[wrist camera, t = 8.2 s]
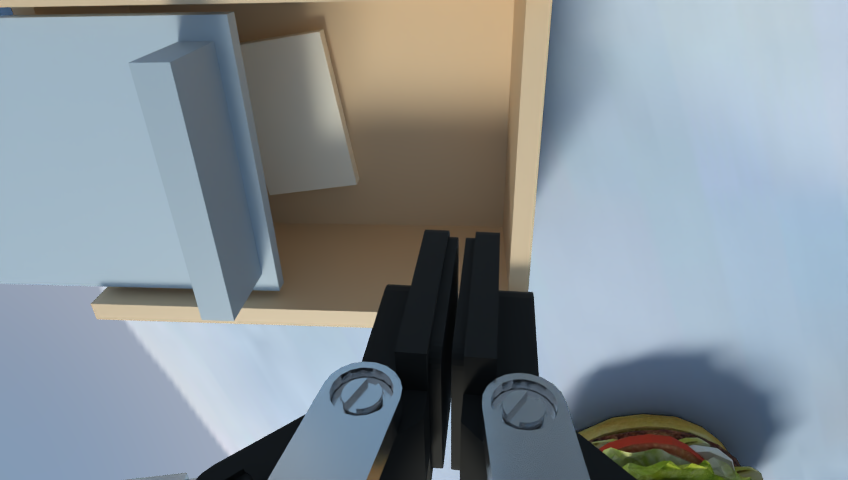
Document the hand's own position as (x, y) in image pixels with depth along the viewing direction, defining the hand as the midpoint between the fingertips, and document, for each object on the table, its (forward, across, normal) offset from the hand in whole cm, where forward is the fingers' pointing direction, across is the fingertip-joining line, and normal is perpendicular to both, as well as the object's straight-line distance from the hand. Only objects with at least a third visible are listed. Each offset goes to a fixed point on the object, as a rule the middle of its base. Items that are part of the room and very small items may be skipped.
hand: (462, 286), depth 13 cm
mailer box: (+15, +7, +1) cm, 16 cm away
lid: (+8, +17, +1) cm, 18 cm away
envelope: (+14, +9, +1) cm, 16 cm away
